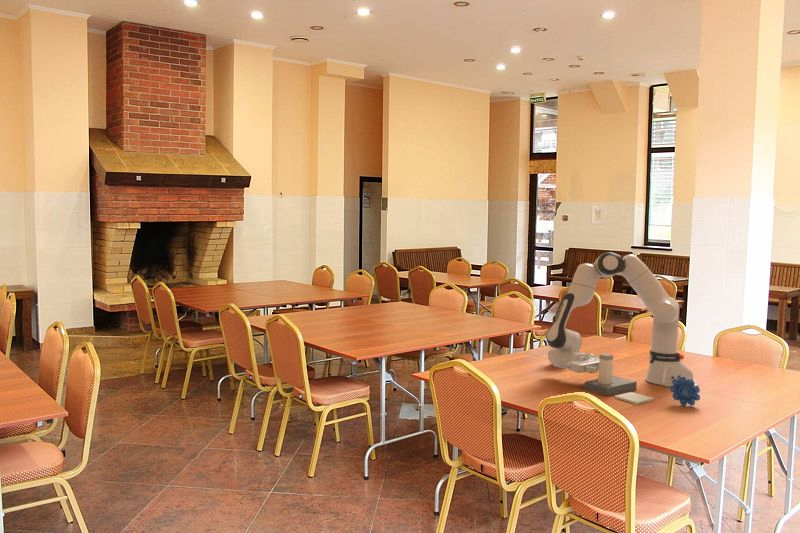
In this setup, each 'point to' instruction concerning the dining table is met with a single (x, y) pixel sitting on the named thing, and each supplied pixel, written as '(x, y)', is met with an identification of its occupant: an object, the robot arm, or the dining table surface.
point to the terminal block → (611, 386)
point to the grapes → (685, 391)
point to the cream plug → (605, 369)
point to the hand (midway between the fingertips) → (603, 368)
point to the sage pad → (634, 398)
